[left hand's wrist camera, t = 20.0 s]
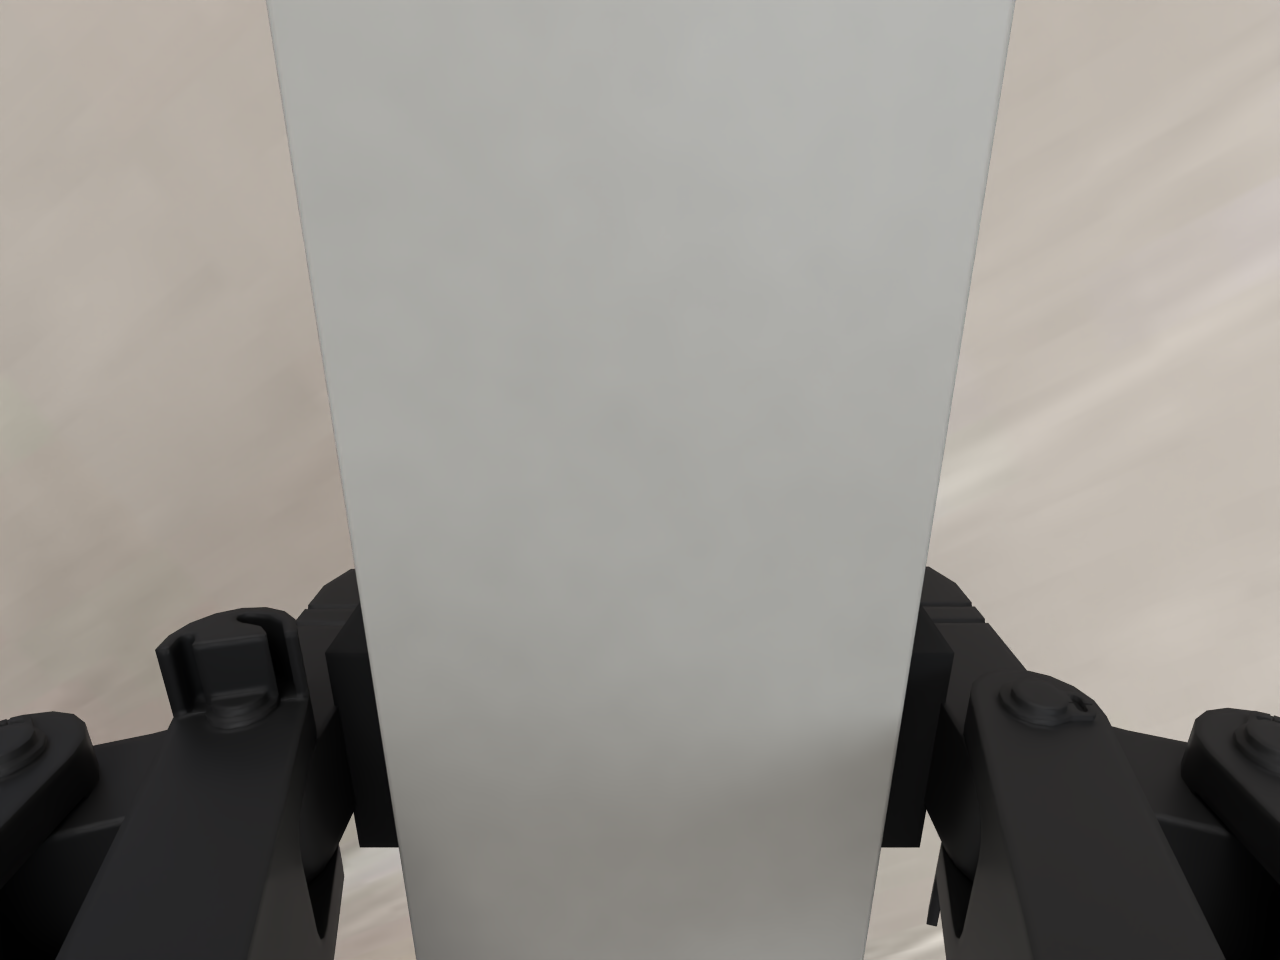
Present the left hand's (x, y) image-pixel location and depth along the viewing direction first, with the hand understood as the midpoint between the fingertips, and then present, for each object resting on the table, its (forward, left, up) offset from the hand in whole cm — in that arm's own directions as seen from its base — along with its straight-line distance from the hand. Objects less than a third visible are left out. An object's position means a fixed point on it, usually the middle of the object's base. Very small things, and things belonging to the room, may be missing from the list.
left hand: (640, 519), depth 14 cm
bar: (+3, +9, -1) cm, 10 cm away
